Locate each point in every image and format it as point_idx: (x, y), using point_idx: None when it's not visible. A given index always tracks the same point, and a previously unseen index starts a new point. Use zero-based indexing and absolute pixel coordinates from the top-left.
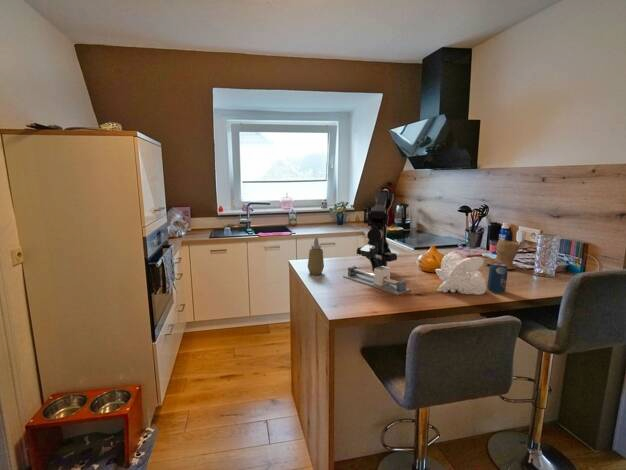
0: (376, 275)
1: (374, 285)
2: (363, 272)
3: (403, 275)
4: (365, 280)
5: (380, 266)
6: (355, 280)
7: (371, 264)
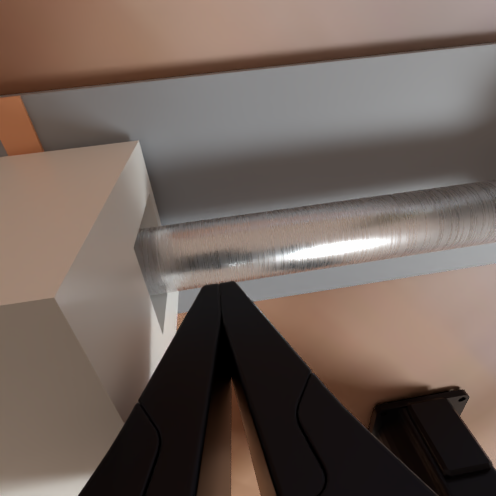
0: (38, 203)
1: (85, 108)
2: (430, 213)
3: (242, 463)
4: (323, 158)
5: (416, 449)
6: (432, 49)
7: (323, 388)
